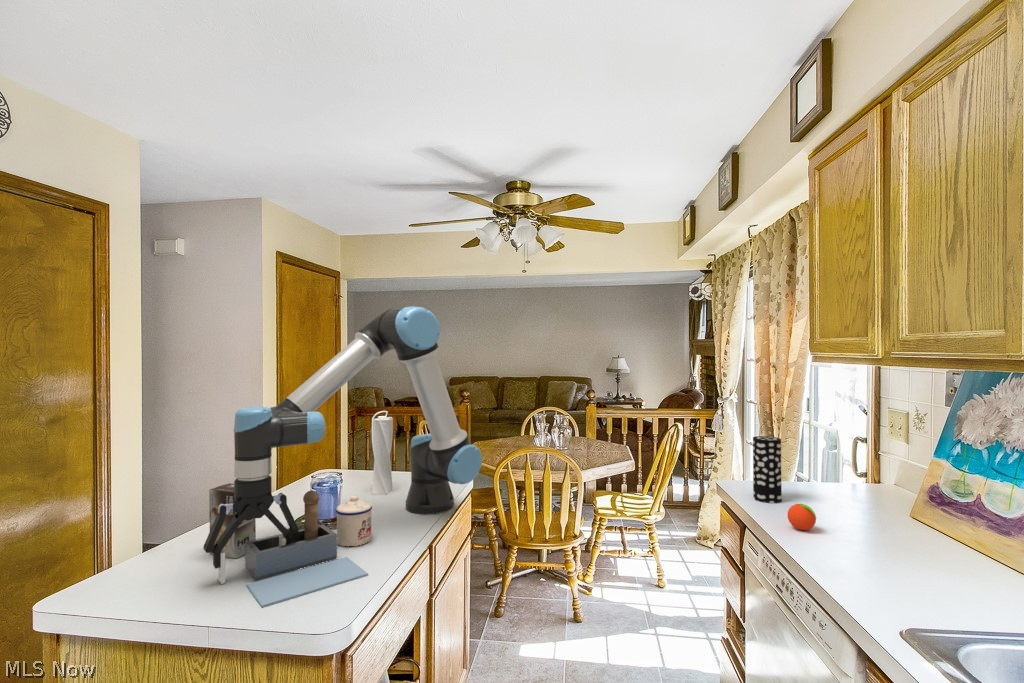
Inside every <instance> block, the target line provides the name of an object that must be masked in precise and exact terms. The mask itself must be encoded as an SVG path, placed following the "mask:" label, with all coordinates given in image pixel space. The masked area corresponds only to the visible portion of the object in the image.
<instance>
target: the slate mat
mask: <svg viewBox="0 0 1024 683" xmlns="http://www.w3.org/2000/svg"><path fill="white" fill-rule="evenodd" d="M366 575H367V576H369V573H368V572H367V571H366V570H365V569H363V568H362V567H361V566H360V565H358V564H357V563H356V562H354V561H353V560H352V559H351V558H349V556H344V557H341V558H340V557H339V558H337V559H336V560H333V561H329V562H326V563H322V564H318V565H315V566H311V567H307V568H304V569H300V570H296V571H293V572H289V573H285V574H282V575H278V576H275V577H271V578H267V579H264V580H260V581H256V582H255V581H253V582H249V583H246V587H247V589H248V590H249V592H250V593H251V595H253V597H254V598H256V599H255V600H256V601H257V603H258V602H259V603H258V604H259V605H261V606H260V608H262V609H263V608H265V607H270V606H272V605H276V604H279V603H282V602H285V601H286V602H287V601H288V600H292V599H295V598H298V597H301V596H304V595H308V594H311V592H312V593H314V592H317V591H321V589H322V590H324V589H327V587H328V588H331V587H334V585H335V586H337V584H338V585H341V584H344V583H347V582H346V581H348V582H350V580H351V581H354V580H357V579H360V578H359V577H361V578H363V576H364V577H367V576H366ZM356 578H357V579H356ZM353 579H354V580H353ZM343 582H344V583H343ZM340 583H341V584H340ZM330 586H331V587H330Z"/></svg>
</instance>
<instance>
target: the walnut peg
mask: <svg viewBox="0 0 1024 683" xmlns="http://www.w3.org/2000/svg"><path fill="white" fill-rule="evenodd" d="M302 500H303V504H304V529H305V540H308V539H312V538H316V537H318V526H319V500H320V495H319V493H318V492H317V491H316V490H312V489H311V490H308V491H307V492H305V494H304V495H303V498H302Z"/></svg>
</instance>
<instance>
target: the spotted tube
mask: <svg viewBox="0 0 1024 683" xmlns="http://www.w3.org/2000/svg"><path fill="white" fill-rule="evenodd" d="M752 455H753V456H752V458H753V459H752V474H753V475H752V478H753V479H752V482H753V484H752V485H753V493H752V494H753V500H754V501H757V502H760V503H766V504H778V503H779V504H780V503H781V502H782V499H783V498H782V495H783V494H782V493H783V492H782V438H780V437H776V436H775V437H774V436H769V435H768V436H765V435H763V436H762V435H757V436H752Z"/></svg>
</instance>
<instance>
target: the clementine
mask: <svg viewBox="0 0 1024 683" xmlns="http://www.w3.org/2000/svg"><path fill="white" fill-rule="evenodd" d="M786 515H787V519H788V520H787V521H788V522H789V524H791V526H792V527H793V528H795V529H797V530H800V531H809V530H810V529H812V528H813V527H814V526H815V524H816V522H817V516H816V513H815V511H814V510H813V509H812V508H811V507H810V506H809V505H808V504H804V503H794V504H793V505H791V506H790V507H789V509H788V510H787V514H786Z"/></svg>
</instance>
